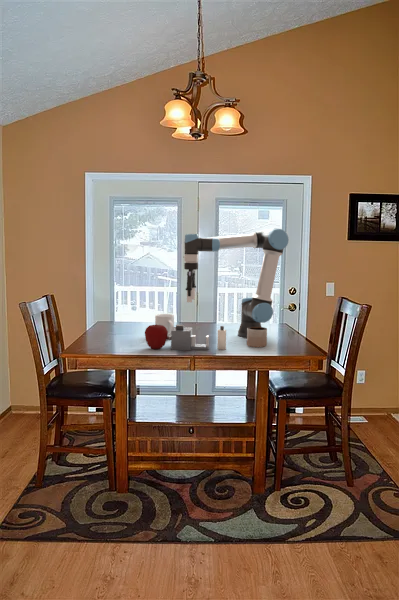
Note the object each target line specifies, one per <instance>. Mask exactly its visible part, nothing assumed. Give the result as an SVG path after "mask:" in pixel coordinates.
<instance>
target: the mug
mask: <svg viewBox="0 0 399 600" xmlns="http://www.w3.org/2000/svg"><path fill="white" fill-rule="evenodd" d="M154 318H155V320H154V322H155V324H154V325H163V326H164V327H165V328H166V329H167V331H168V335H167V336H171V330H172V329H173V327H175V315H174V314H171V313H160V314H159V313H158V314H157V313H156V314H155V317H154Z"/></svg>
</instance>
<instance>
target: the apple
mask: <svg viewBox="0 0 399 600" xmlns="http://www.w3.org/2000/svg"><path fill="white" fill-rule="evenodd" d="M144 330H145V331H144V336H145V337H144V338H145V341H146V344H147V346H148V347H149V348H150V349H152V350H158V349H159V350H160V349H162V348H163V347H164V346H165V345H166V342H167V341H168V340H167V335H168V331H167V329H166V328H165V327H164V326H163V325H155V324H151V325H148V326H147V327H145V329H144Z"/></svg>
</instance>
